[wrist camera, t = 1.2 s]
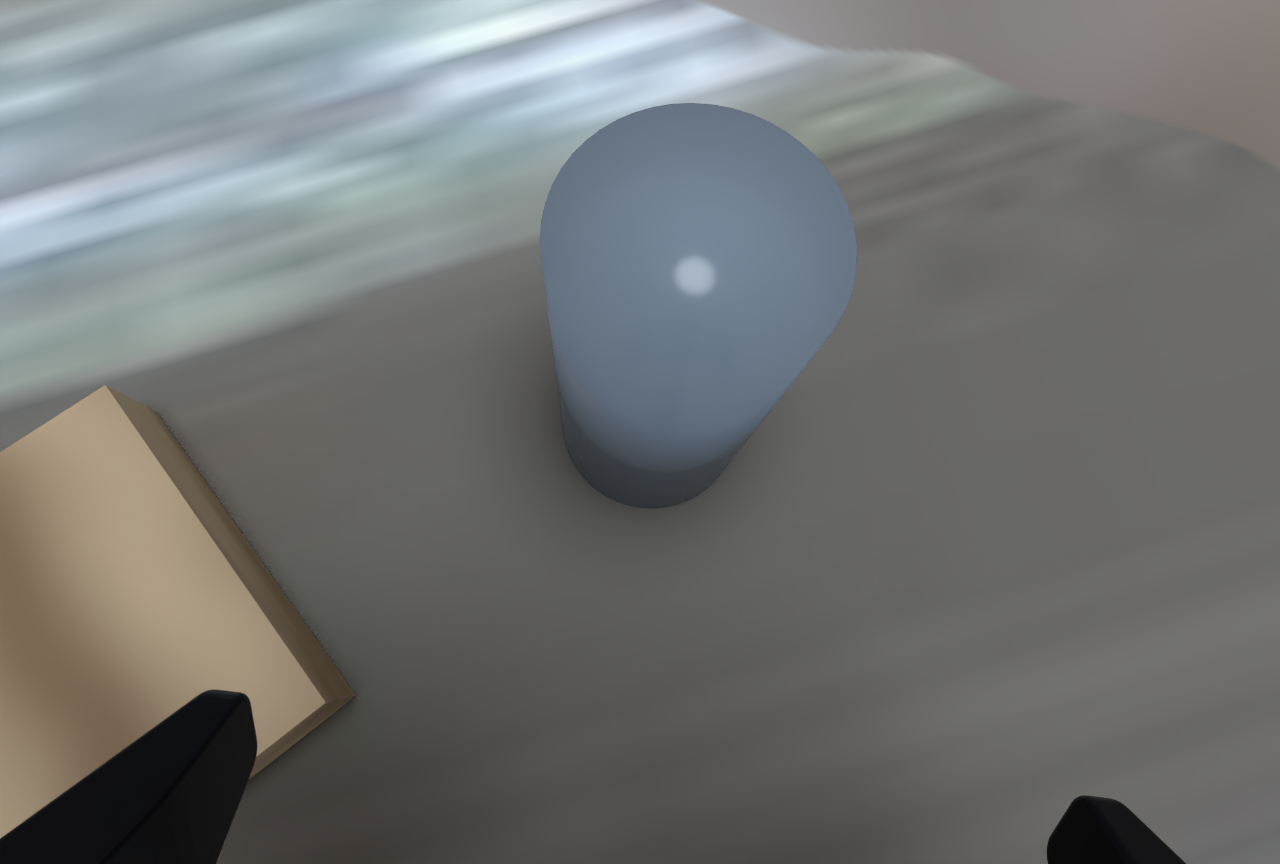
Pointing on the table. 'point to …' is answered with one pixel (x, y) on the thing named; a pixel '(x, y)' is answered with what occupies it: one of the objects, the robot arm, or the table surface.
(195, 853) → the robot arm
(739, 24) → the table surface
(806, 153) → the canister
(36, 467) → the oak base block
